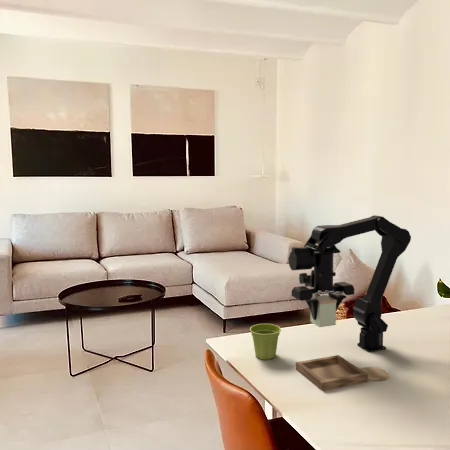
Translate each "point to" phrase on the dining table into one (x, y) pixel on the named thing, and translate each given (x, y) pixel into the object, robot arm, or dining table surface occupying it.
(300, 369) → the walnut tray
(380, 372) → the cork coaster
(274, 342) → the plant pot
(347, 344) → the dining table surface
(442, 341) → the dining table surface
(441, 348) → the dining table surface
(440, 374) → the dining table surface
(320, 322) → the sage canister
